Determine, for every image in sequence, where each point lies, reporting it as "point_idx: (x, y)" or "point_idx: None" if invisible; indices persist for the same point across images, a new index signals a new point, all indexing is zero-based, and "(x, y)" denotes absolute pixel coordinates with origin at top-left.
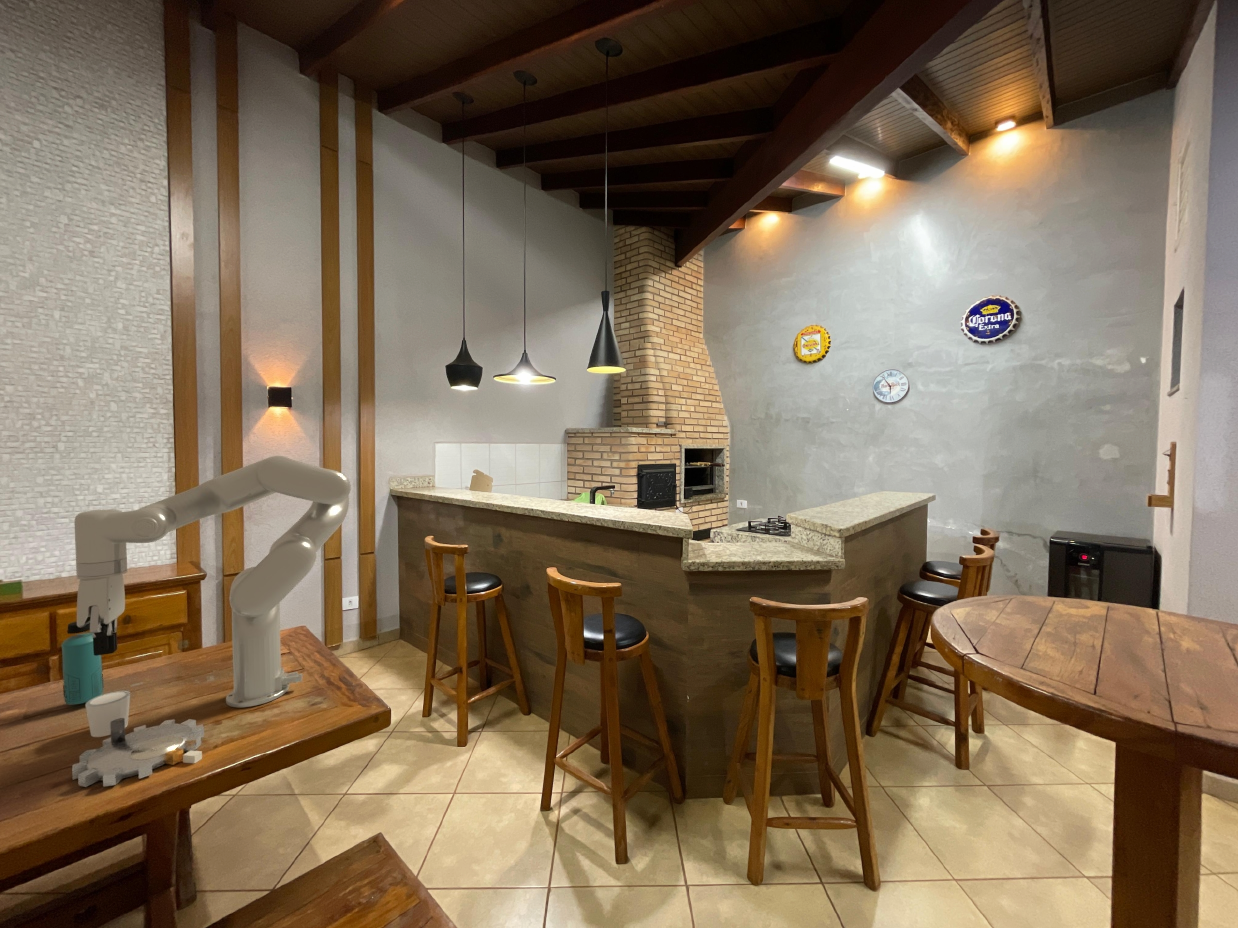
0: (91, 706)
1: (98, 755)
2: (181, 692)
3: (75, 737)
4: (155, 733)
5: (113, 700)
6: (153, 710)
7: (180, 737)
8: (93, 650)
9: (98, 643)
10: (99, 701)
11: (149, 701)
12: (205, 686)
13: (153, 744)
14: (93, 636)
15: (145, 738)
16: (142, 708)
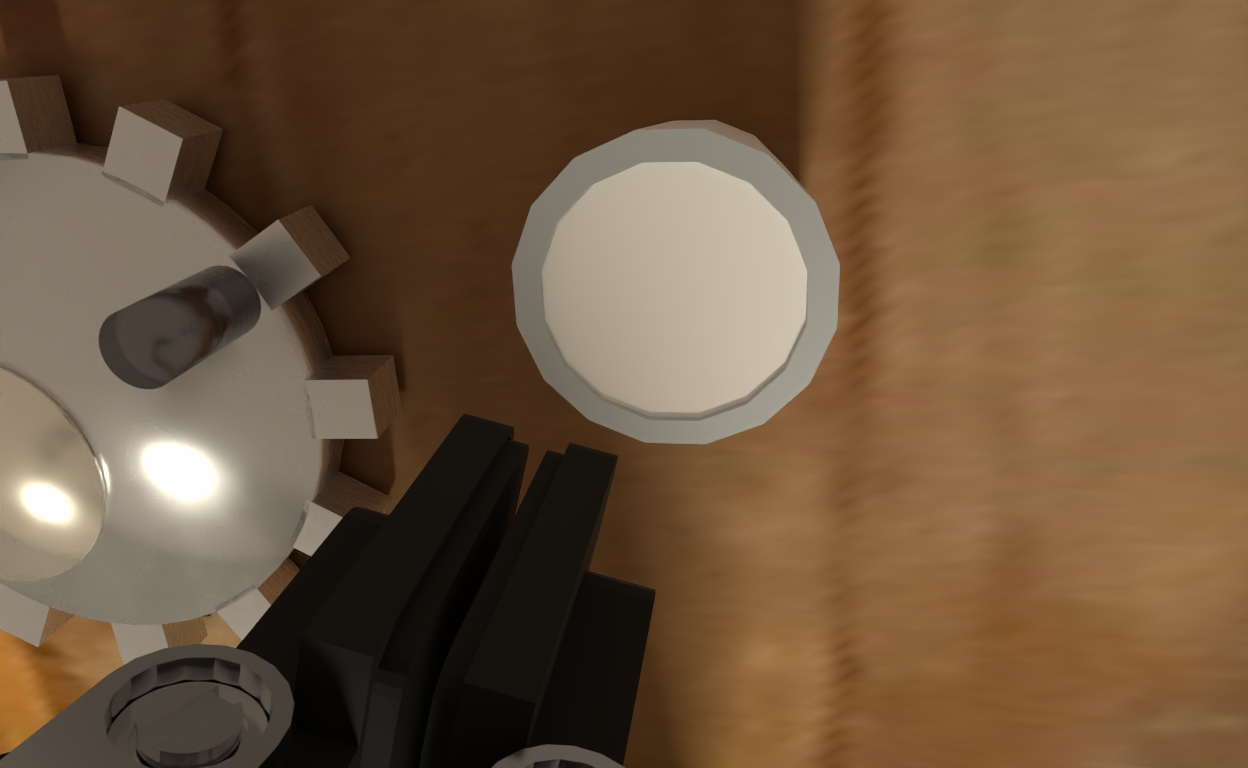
0: (560, 178)
1: (59, 207)
2: (1041, 622)
3: (724, 25)
4: (199, 475)
5: (584, 330)
6: (827, 460)
7: (41, 572)
8: (443, 449)
9: (279, 615)
10: (646, 232)
11: (1052, 449)
12: (1016, 741)
13: (28, 460)
14: (124, 683)
15: (155, 428)
16: (938, 405)
